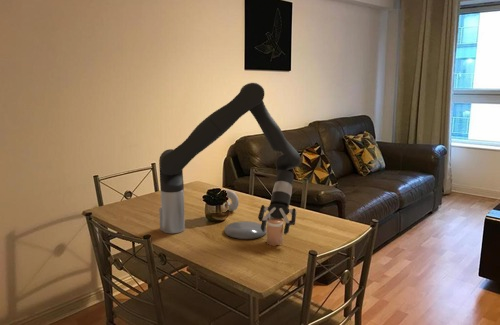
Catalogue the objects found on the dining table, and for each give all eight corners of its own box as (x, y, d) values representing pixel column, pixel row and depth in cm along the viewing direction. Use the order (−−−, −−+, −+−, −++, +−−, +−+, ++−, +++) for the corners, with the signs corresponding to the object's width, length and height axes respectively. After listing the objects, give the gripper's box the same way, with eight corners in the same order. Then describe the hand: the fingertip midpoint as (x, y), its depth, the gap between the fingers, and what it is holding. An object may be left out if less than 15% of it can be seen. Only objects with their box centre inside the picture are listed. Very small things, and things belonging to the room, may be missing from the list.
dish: (218, 237, 165) (218, 233, 165) (232, 222, 181) (232, 219, 181) (259, 242, 160) (259, 238, 160) (270, 227, 176) (270, 224, 176)
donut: (219, 209, 198) (219, 189, 196) (224, 207, 201) (224, 187, 199) (235, 214, 192) (235, 193, 190) (240, 212, 195) (240, 191, 193)
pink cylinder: (264, 244, 158) (265, 222, 156) (268, 238, 164) (269, 217, 162) (280, 246, 156) (281, 224, 155) (284, 240, 162) (284, 218, 160)
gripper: (262, 188, 165) (254, 226, 157) (298, 192, 161) (291, 230, 153) (265, 197, 171) (257, 234, 163) (300, 201, 167) (293, 238, 159)
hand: (274, 232), depth 158 cm, fingers open, 8 cm apart
